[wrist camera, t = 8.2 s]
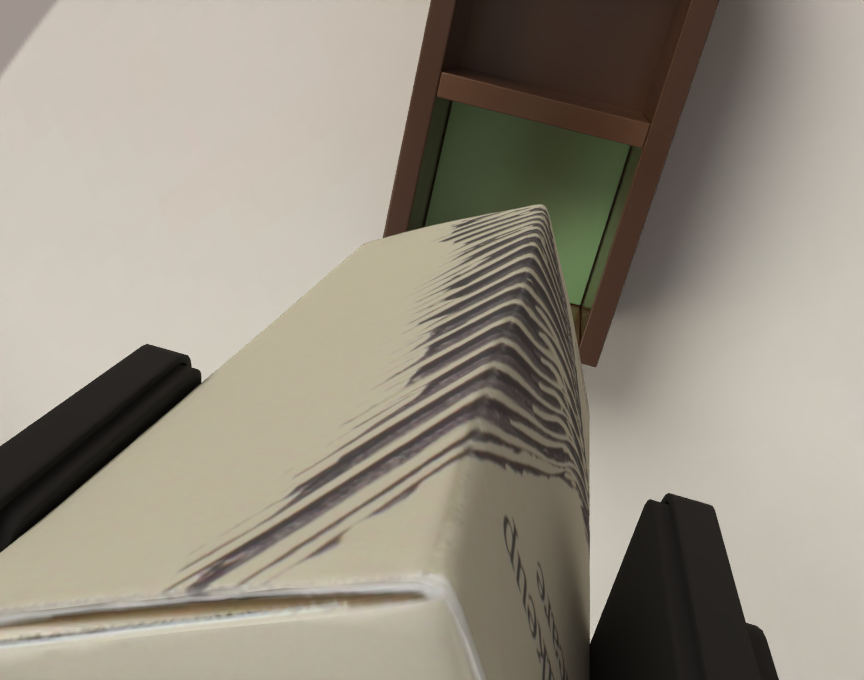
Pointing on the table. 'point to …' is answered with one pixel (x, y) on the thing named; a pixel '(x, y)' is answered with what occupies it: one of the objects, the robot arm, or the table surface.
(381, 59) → the table surface
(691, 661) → the robot arm
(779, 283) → the table surface
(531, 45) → the divided tray
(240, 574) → the box
